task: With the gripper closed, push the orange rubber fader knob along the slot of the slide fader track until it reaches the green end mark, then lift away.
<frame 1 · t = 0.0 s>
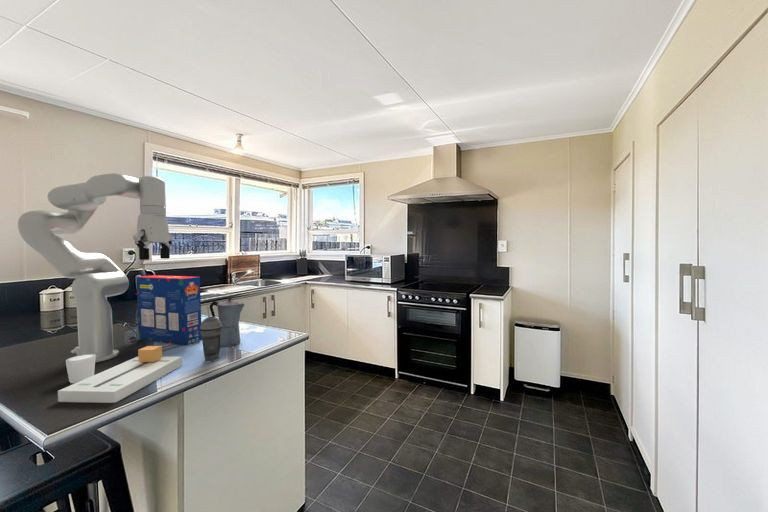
hand: (155, 259, 116), 37 cm above the table, tool pointing down, fingers open, 9 cm apart
fader knob: (150, 353, 107), point 5 cm above the table, slide at 0.0 cm
moka pot: (227, 344, 134), on the table
white tapered cup: (82, 380, 100), on the table
slide fader track: (128, 381, 98), on the table
beverage cup: (212, 359, 116), on the table
blue box: (170, 340, 141), on the table
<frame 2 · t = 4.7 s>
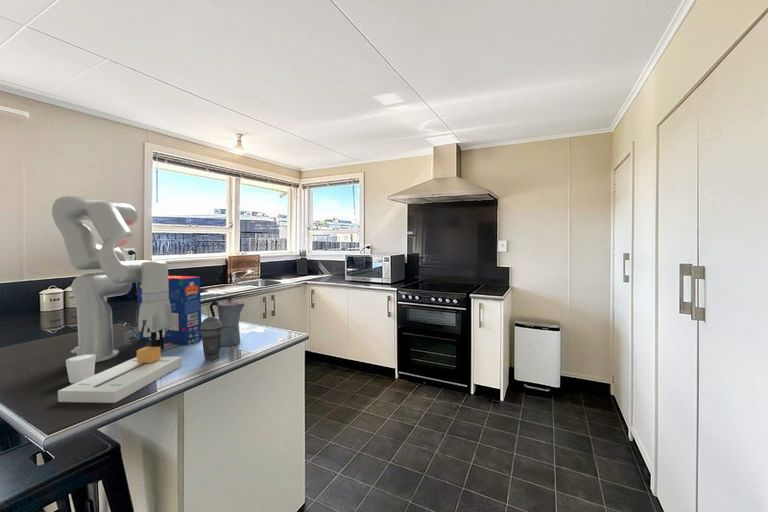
hand: (157, 349, 110), 6 cm above the table, tool pointing down, fingers closed
fader knob: (148, 354, 106), point 5 cm above the table, slide at 0.6 cm, touching gripper
everything else where it was.
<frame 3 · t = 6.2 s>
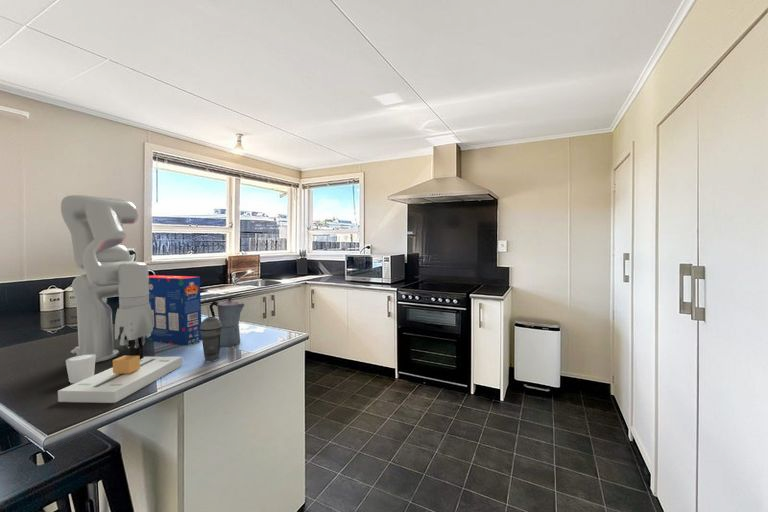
hand: (136, 359, 101), 6 cm above the table, tool pointing down, fingers closed
fader knob: (126, 364, 97), point 5 cm above the table, slide at 9.3 cm, touching gripper
everything else where it was.
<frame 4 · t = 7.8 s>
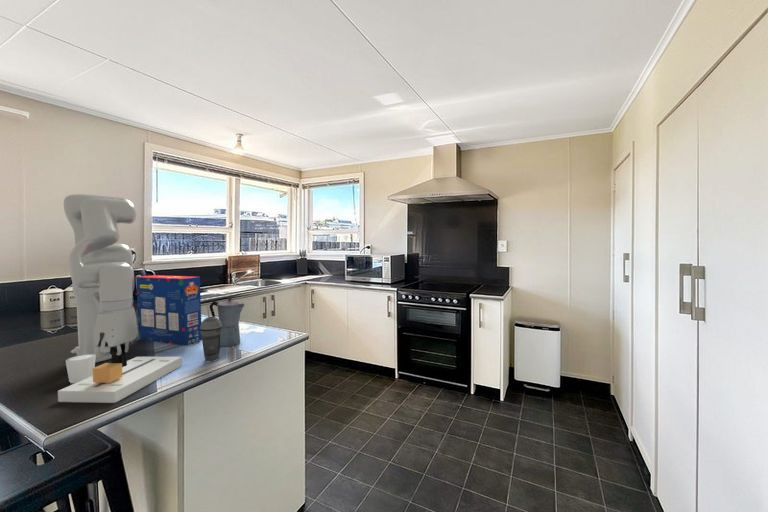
hand: (119, 366, 95), 6 cm above the table, tool pointing down, fingers closed
fader knob: (107, 372, 91), point 5 cm above the table, slide at 15.6 cm, touching gripper
everything else where it was.
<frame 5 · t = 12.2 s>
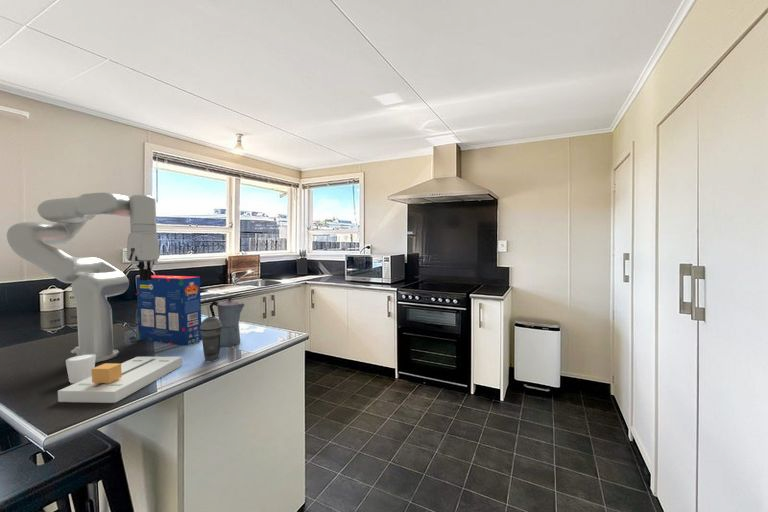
hand: (145, 280, 116), 29 cm above the table, tool pointing down, fingers closed
fader knob: (106, 373, 91), point 5 cm above the table, slide at 15.8 cm
everything else where it was.
at the end: fader knob slide at 15.8 cm; white tapered cup moved 0.2 cm from its start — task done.
